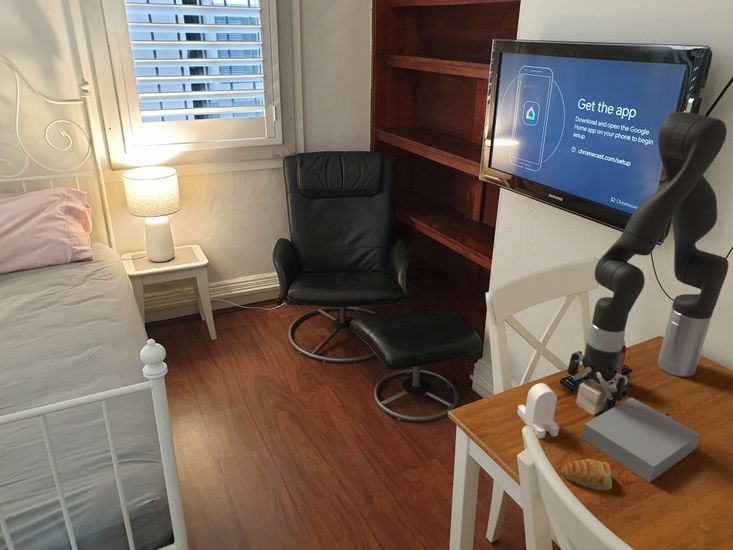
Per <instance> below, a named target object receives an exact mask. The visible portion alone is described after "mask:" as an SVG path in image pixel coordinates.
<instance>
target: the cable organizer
mask: <svg viewBox="0 0 733 550" xmlns="http://www.w3.org/2000/svg"><path fill="white" fill-rule="evenodd" d="M557 402H558V397H557V395H556V393H555V392H554V391H553V390H552V389H551V388H550V387H549V386H548V385H547V384H546V383H540V382H539V383H537V384H534V385H533V386H531V388H530V389H529V391H528V393H527V399H526V404H525V405H524V404H520V405H518V407H517V415H518V416H519V417H520V419H521V420H522V421H523V422H524V424H525V425H526V426H527V425H529V426H531V427H533V429H534V430H535V433H536V435H537V437H536V438H537V439H545V437H546V434H547V433H546V432H548V433H549V435H551V437H557V436H559V431H560V426H559V425H558V423H556V422H555V420H554V418H555V412H556V406H557Z"/></svg>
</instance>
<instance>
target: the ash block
mask: <svg viewBox="0 0 733 550" xmlns="http://www.w3.org/2000/svg"><path fill="white" fill-rule="evenodd" d="M576 396H577V397H576V399H575V400H576V401H575V406H576V405H578V406H579V407H578V406H577V407H578V408H580V407H581V408H583V409H584V410H583V409H582V410H583V411H585V410H586V411H587V412H586V411H585V412H586V413H588V412H589V413H588V414H590V413H591V414H593V415H594V416H596V415H597V413H598V414H599V412H600V411H601V412H603V411H604V408H605V404H606V400H607V398H608V396H607V394H606V391H605V390H603V388H602V385H601V384H599V383H597V382H596V381H595V380H591V379H589V378H588V380H586V381H583V383H582V384H580V386H579V391H578V394H577V395H576ZM581 408H580V409H581ZM602 410H603V411H602ZM601 412H600V413H601ZM591 414H590V415H591ZM595 414H596V415H595ZM593 415H592V416H593Z"/></svg>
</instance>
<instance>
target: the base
mask: <svg viewBox="0 0 733 550" xmlns="http://www.w3.org/2000/svg"><path fill="white" fill-rule="evenodd" d="M700 436H701V433H699V432H697V431H694V430H693V429H691V428H689V427H687V426H685V425H684V424H681V423H680V422H678V421H676V420H674V419H672V417H671V418H670V417H668V416H667V415H665V414H663V413H661V411H660V412H659V411H658V410H656V409H654V408H653V407H650V406H649V405H647V404H645V403H643V402H641V401H639V400H637V399H635V398H634V397H630V398H627V399H625V400H624V401H623V402H620V403H619V404H616V405H615V407H613V408H612V409H610V410H608V411H604V412H602V413H601V414H599V415H597V416H596V417H594V418H592V419H591V420H589V421H587V422H585V423H584V425H583V429H582V433H581V439H582V440H583V441H584V442H586V443H588V445H590V446H593V447H594V448H595V449H597V450H599V451H600V452H601V453H603V454H605V455H606V456H608V457H609V458H611V459H612V460H614V461H615V462H617V463H619V465H622V466H623V467H624V468H626V469H628V470H630V471H631V472H633V473H634V474H635V475H637V476H639V477H640V478H642V479H643V480H645V481H646V482H648V483H651V482H653V480H655V479H656V478H658V477H659V476H661V475H662V474H663V473H665V472H666V471H668V470H669V469H671V468H672V467H673V466H674V465H675V464H677V463H678V462H680V461H681V460H683V458H686V457H687V456H688V455H689V454H691V453H692V452H693V451H695V450H696V448H697V446H698V443H699V439H700Z"/></svg>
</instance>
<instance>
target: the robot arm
mask: <svg viewBox="0 0 733 550" xmlns="http://www.w3.org/2000/svg"><path fill="white" fill-rule="evenodd" d="M727 132H728V131H727V126H726V123H725V122H724V121H723V120H721V119H718V118H715V117H711V116H708V115H707V116H705V115H701V114H697V113H691V112H689V111H688V112H687V111H686V112H685V111H675V112H672V113H670V114H668V115H667V116H666V117H665V118H664V120H663V121H662V123H661V125H660V127H659V132H658V137H657V146H658V151H659V152H658V153H659V155H660V161H661V163H662V167H663V170H664V174H665V175H664V176H665V178H666V184H665V185H664V186H663V187H662V188H660V189H658V190H657V191H655V192H654V193H653V194H651V195H650V196H649V197H647V198H646V199H645V200H644V201H642V202H641V203H640V204H639V205H638V206H637V207H636V208H635V210H634V211H633V213H632V215H631V216H630V218H629V220H628V222H627V224H626V226H625V228H624V229H623V231H622V234H621V235H620V237H618V239H617V240H616V241H615V242H614V243H613V244H612V245H611V246H610V247H609V248H608V250H606V252H605V253H603V255H602V256H601V258H599V260H598V262H597V263H596V266H595V268H594V279H595V281H596V282H597V284H599V285H600V286H601V287H604V288H606V289H607V290H610V292H612V293H613V296H611V297H609V296H605V297H601V298H599V299H598V300H597V301H596V303H595V306H594V311H593V317H592V320H591V325H590V327H589V331H588V334H587V340H586V343H585V349H584V355H583V351H581V350H578V351H575V352H574V353H573V352H572V354H571V357H570V361H569V362H568V363H569V364H568V368H567V374H568V375H569V376H572V378H573V383H572V391H573V394H575V395H578V391H579V386H580V384H582V383H584V380H585V379H584V377H585V376H587V377H588V380H589V379H591V380H595V381H596V382H597V383H599V384H601V385H602V388H603V390H605V391H606V394H607V396H608V398H607V400H606V404H605V408H604V410H603V411H604V412H606V411H608V410H610V409H612V408H613V407H615V406H616V405H617V404H616V403H617V402H621V401H622V400H624V399H626V398H627V395H628V389H629V383H630V376H629V375H628V374H625V375H622V373H621V374H619V373H617V366H618V363H619V359H620V355H621V350H622V346H623V342H624V341H625V335H626V334H625V333H626V332H625V331H626V327H627V322H628V318H629V313H630V312H631V310H632V308H633V307H634V305H635V303H636V301H637V299H638V298H639V296H640V294H641V293H642V291H643V289H644V287H645V274H644V272H643V270H642V269H641V268H639V267H638V266H636V265H634V264H632V263H630V262H629V261H630V260H631V259H632V258H633V257H634V256H636V255H637V256H638V255H639V256H644V257H645V256H649V255H650V254H652V252H653V251H654V250H655V248H656V246H657V244H658V242H659V241H660V239H661V238H662V236H663V234H664V232H665V230H666V227H667V225H668V224H669V222H670V221H671V224H672V230H673V231H672V232H673V240H674V245H673V246H674V254H673V255H674V256H673V272H674V277H675V278H676V280H677V281H678V282H679V283H682V284H684V285H687V286H689V287H693V288H696V289H699V290H700V292H699V293H697V294H695V293H694V294H693V293H689V294H688V293H684V294H679V295H677V296H676V297H674V299H673V302H672V305H671V310H670V313H669V317H668V321H667V324H666V328H665V329H666V330H665V332H664V336H663V339H662V344H661V348H660V352H659V356H658V359H657V366H658V367H659V368H660V369H661V370H662V371H663V372H665V373H668V374H671V375H673V376H677V377H684V378H687V377H692V376H694V375H695V373H696V371H697V368H698V365H699V360H700V358H701V355H702V354H701V353H702V351H703V348H704V343H705V341H706V337H707V334H708V330H709V327H710V324H711V320H712V318H713V317H712V316H713V314H714V310H715V308H716V306H717V303H718V300H719V297H720V294H721V291H722V288H723V285H724V282H725V280H726V278H727V274H728V272H729V271H728V270H729V261H728V260H729V259H727V258H726V257H724V256H721V255H718V254H715V253H711V252H708V251H704V250H701V249H699V248H697V245H696V243H698V242H699V240H701V239H702V238H704V237H705V236H706V235H707V234H709V233H710V231H712V229H713V228H714V227H715V225H716V223H717V221H718V203H717V201H718V200H717V197H716V193H715V191H714V189H713V187H712V186H711V184H710V183H709V181H708V180H707V179H706V177H705V176H704V174H705V173H706V172H707V170H708V169H709V168H710V166H711V165H712V163H713V162H714V160H715V159H716V158H717V156H718V154H719V153H720V151H721V150H722V148H723V146H724V143H725V141H726V138H727ZM581 362H582V363H581ZM580 364H582V365H583V368H584V369H582V370H581V371H579V369H580V368H579V367H580ZM614 378H616V382H615V380H614ZM608 381H609V385H607V382H608ZM616 384H617V385H616Z"/></svg>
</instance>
